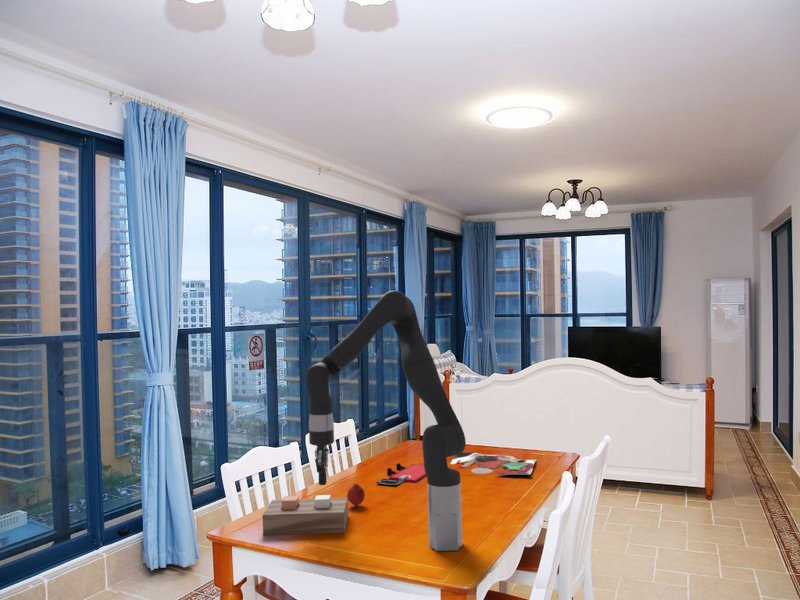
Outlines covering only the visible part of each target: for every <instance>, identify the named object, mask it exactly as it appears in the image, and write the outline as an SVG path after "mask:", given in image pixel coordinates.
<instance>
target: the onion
mask: <svg viewBox="0 0 800 600" xmlns="http://www.w3.org/2000/svg"><path fill="white" fill-rule="evenodd" d="M365 494H366V493H365V490H364V488H362V486H361V485H359V484H358V483H357V482H354V483H353V485H352V486H350V488H349V489H348V490H347V495H346V496H347V497H346V498H348V503H350V504H351V505H353V506H354V508H355V507H356V508H357V507H359V505H361V504H362V503H363V502H364V500H365V496H366V495H365Z"/></svg>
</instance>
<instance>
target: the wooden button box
mask: <svg viewBox="0 0 800 600" xmlns="http://www.w3.org/2000/svg"><path fill="white" fill-rule="evenodd" d="M348 518H349V500H348V497H334V498H333V497H331V508H315V498H302V499H301V498H299V507H298V509H282V499H272V500H271V501H270V503H269V504H268V506H267V507H266V509H265V510H264V512H263V514H262V535H263V536H282V535H285V536H287V535H309V534H311V535H313V534H316V535H317V534H341V533H343V534H344V533H345V531H346V527H347V523H348Z"/></svg>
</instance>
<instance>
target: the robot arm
mask: <svg viewBox="0 0 800 600" xmlns="http://www.w3.org/2000/svg"><path fill="white" fill-rule="evenodd" d="M388 323H391V325H392V327H393V329H394V331H395V333H396V336H397V338H398V341H399V345H400V356H401V358H400V359H401V364H402V365H401V366H402V370H403V373H404V376H405V378H406V381H407V385H408V386H409V388H410V390H412V392H413V393H414V395H415V396H416V397H418V399H420V400H421V402H423V403H424V404H425V405H426V406H427V407H428V409H429V410H430V411H431V413H432V415H433V417H434V419H435V421H436V424H433V425H430V426H427V427H426V428H425V429H424V431H423V434H422V440H421V441H422V443H421V444H422V455H423V457H422V458H423V465H424V469H425V473H426V476H425V477H426V481H427V482H426V484H427V487H426V490H427V517H428V518H427V520H428V521H427V522H428V525H427V526H428V545H429V547H430V548H432V549H433V550H435V552H449V551H453V552H454V551H459V550H460V549H461V548H462V546H463V522H462V521H463V519H462V518H463V517H462V494H461V493H462V491H461V490H462V489H461V486H462V485H461V483H462V482H461V473H460V471H459V470H457V469H455V468H452V467H449V465H448V459H447V458H450V457H454V456H455V457H456V455H458V454H461V453H464V451H465V449H466V436H465V432H464V430H463V426H462V425H461V423H460V421H459V419H458V417H457V415H456V413H455V411H454V409H453V407H452V405H451V403H450V400H449V398H448V396H447V393H446V390H445V388H444V386H443V383H442V381H441V378H440V375H439V371H438V369H437V366H436V364H435V360H434V359H433V356H432V354H431V352H430V349H429V347H428V345H427V342H426V341H425V338H424V336H423V334H422V331H421V330H422V329H421V328H420V323H419V319H418V316H417V312H416V308H415V305H414V303H413V301H412V300H411V299H410V298H409V297H408V296H406V295H405V294H404V293H402V291H399V290H390V291H387V292H386V293H384V294H383V295H382V296H381V297H380V298H379V300H378V301H377V302H376V303H375V304H374V306H373V307H372V308H371V309H370V311H369V312H368V313H367V314H366V315H365V316H364V317H363V319H362V320H361V321H360V322H359V323H358V324H357V325H356V327H355V328H353V330H351V331H350V332H349V334H347V335H346V336H345V337H344V338H342V340H341V341H340V342H338V343H337V344H336V345H335V346H334V347H333V348H332V349H330V351H329V353H328V354H327V355H326V356H325V357H323V359H321V360H320V361H318V362H317V363H315V364H313V365H311V366H310V367H309V368H308V370H307V372H306V376H305V377H306V380H305V381H306V382H305V383H306V390H307V393H308V394H307V395H308V398H309V403H308V404H309V418H308V431H309V433H308V434H309V435H308V438H309V441H308V443H309V444H310V445H311V446H316V448H315V451H314V457H315V459H314V461H315V467H316V473H318V485H319V486H326V484H327V482H328V481H327V480H328V479H327V471H328V468H329V465H328V463H329V454H330V448H328V446H329V445H332V444H334V442H335V432H334V431H335V430H334V428H335V427H334V426H335V425H334V422H335V421H334V415H333V414H334V413H333V397H332V395H331V394H330V389H329V388H330V386H329V385H330V384H329V383H330V382H331V381H333V380H334V379H335V378H336V377H337V376H338V375H339V374H340V373H341V372H342V371H343V370H344V369H345V368H347V367H348V366H349V365H350V364H351V363H352V362H354V361H355V360H356V359H357V358H358V357H359V356H360V355H361V354H362V353H363V352H364V350H365V349H366V348H367V347H368V345H369V343H370V342H371V340H372V339H373V337H375V335H376V334H377V332H378V331H379V330H381V329H382V328H383V327H384V326H386V325H387V324H388Z"/></svg>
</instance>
